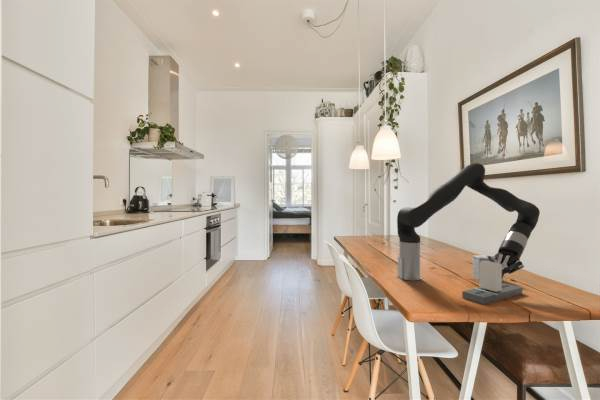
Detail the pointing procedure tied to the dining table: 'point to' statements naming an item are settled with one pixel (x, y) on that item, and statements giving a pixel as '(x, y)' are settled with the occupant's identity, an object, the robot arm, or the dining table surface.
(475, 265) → the light bulb box
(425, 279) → the dining table surface
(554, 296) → the dining table surface
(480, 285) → the cap
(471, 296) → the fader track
